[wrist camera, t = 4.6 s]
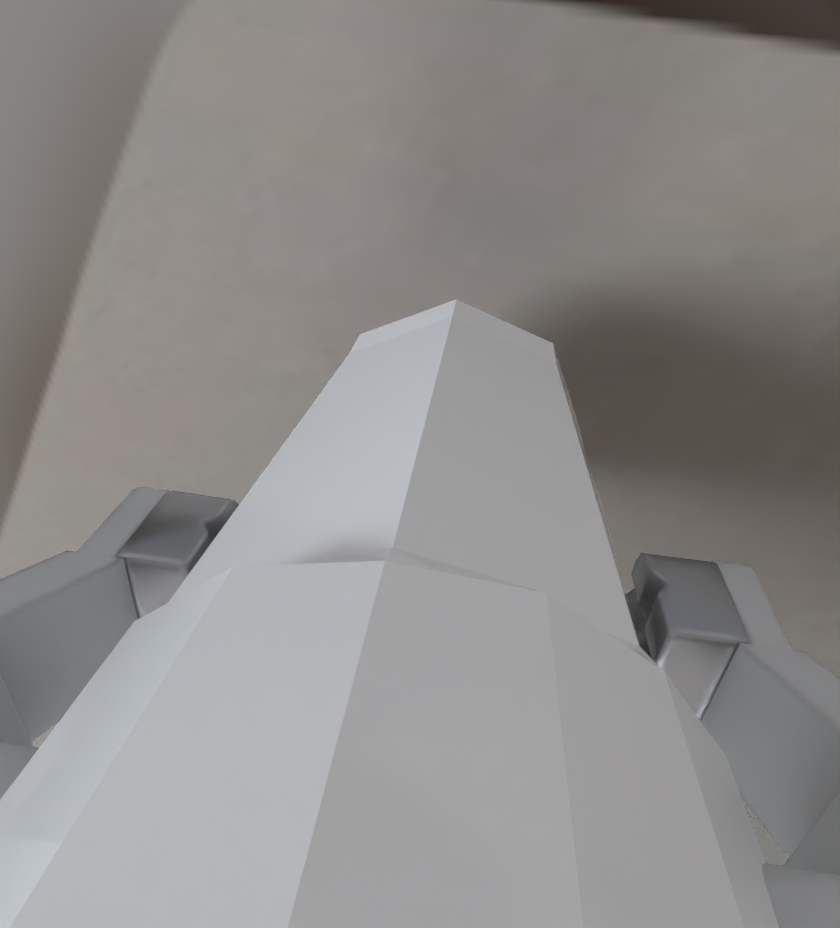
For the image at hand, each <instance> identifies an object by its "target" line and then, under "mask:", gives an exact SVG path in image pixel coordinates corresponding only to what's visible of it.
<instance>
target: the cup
mask: <svg viewBox="0 0 840 928" xmlns="http://www.w3.org/2000/svg"><path fill="white" fill-rule="evenodd" d="M764 863H766V862H765V859H764V856H763V854H762V851H761V848H760V846H759V843H758V840H757V838H756V835H755V832H754V830H753V827H752V824H751V822H750V819H749V816H748V813H747V811H746V808H745V805H744V803H743V800H742V797H741V795H740V792H739V789H738V787H737V784H736V781H735V779H734V776H733V773H732V771H731V768H730V765H729V762H728V760H727V757H726V755H725V754H724V753H723V751H722V750H721V748H720V747H719V746H718V744H717V743H716V742H715V740H714V739H713V738H712V736H711V735H710V733H709V732H708V731H707V729H706V728H705V727H704V725H703V724H702V723H701V721H700V720H699V718H698V717H697V716H696V714H695V713H694V712H693V710H692V709H691V708H690V706H689V705H688V703H687V702H686V701H685V699H684V698H683V697H682V695H681V694H680V693H679V691H678V690H677V688H676V687H675V686H674V684H673V683H672V682H671V680H670V679H669V678H668V676H667V675H666V673H665V672H664V671H663V670H662V669H661V668H660V667H659V666H658V665H657V664H656V663H655V662H654V661H653V660H652V659H651V658H650V657H649V656H648V654H647V653H646V652H645V651H644V648H643V645H642V641H641V638H640V635H639V631H638V628H637V625H636V621H635V618H634V615H633V611H632V608H631V605H630V601H629V598H628V595H627V592H626V588H625V585H624V582H623V578H622V575H621V572H620V568H619V565H618V562H617V558H616V555H615V552H614V548H613V545H612V542H611V539H610V535H609V532H608V529H607V525H606V522H605V519H604V515H603V512H602V509H601V505H600V502H599V499H598V496H597V492H596V489H595V486H594V482H593V479H592V476H591V472H590V469H589V466H588V462H587V459H586V456H585V451H584V446H583V441H582V436H581V431H580V428H579V424H578V421H577V418H576V415H575V412H574V409H573V406H572V402H571V399H570V396H569V393H568V390H567V387H566V383H565V380H564V377H563V374H562V371H561V368H560V364H559V361H558V358H557V355H556V352H555V349H554V345H553V343H551V342H549V341H547V340H545V339H542V338H540V337H538V336H536V335H534V334H531V333H529V332H527V331H525V330H522V329H520V328H518V327H516V326H514V325H511V324H509V323H507V322H505V321H503V320H500V319H498V318H496V317H494V316H492V315H489V314H487V313H485V312H483V311H481V310H478V309H476V308H474V307H472V306H470V305H467V304H465V303H463V302H461V301H459V300H453V301H450V302H448V303H445V304H442V305H439V306H437V307H434V308H431V309H428V310H426V311H423V312H420V313H417V314H415V315H412V316H409V317H406V318H404V319H401V320H398V321H395V322H393V323H390V324H387V325H385V326H382V327H379V328H376V329H374V330H371V331H368V332H365V333H363V334H360V335H359V337H358V339H357V340H356V342H355V344H354V346H353V348H352V350H351V351H350V353H349V355H348V356H347V357H346V359H345V360H344V361H343V363H342V364H341V366H340V367H339V368H338V370H337V371H336V372H335V374H334V375H333V377H332V378H331V379H330V381H329V382H328V383H327V385H326V386H325V388H324V389H323V390H322V392H321V393H320V394H319V396H318V397H317V399H316V400H315V401H314V403H313V404H312V405H311V407H310V408H309V409H308V411H307V412H306V414H305V415H304V416H303V418H302V419H301V420H300V422H299V423H298V425H297V426H296V427H295V429H294V430H293V431H292V433H291V434H290V436H289V437H288V438H287V440H286V441H285V442H284V444H283V445H282V447H281V448H280V449H279V451H278V452H277V453H276V455H275V456H274V458H273V459H272V460H271V462H270V463H269V464H268V466H267V467H266V469H265V470H264V471H263V473H262V474H261V475H260V477H259V478H258V480H257V481H256V482H255V484H254V485H253V486H252V488H251V489H250V491H249V492H248V493H247V495H246V496H245V497H244V499H243V500H242V502H241V503H240V504H239V506H238V507H237V508H236V510H235V511H234V513H233V514H232V515H231V517H230V518H229V519H228V521H227V522H226V524H225V525H224V526H223V528H222V529H221V530H220V532H219V533H218V535H217V536H216V537H215V539H214V540H213V541H212V543H211V544H210V546H209V547H208V548H207V550H206V551H205V552H204V554H203V555H202V557H201V558H200V559H199V561H198V562H197V563H196V565H195V566H194V568H193V569H192V570H191V572H190V573H189V574H188V576H187V577H186V579H185V580H184V581H183V583H182V584H181V585H180V587H179V588H178V590H177V591H176V592H175V594H174V595H173V596H172V598H171V599H170V600H169V602H168V603H167V604H165V605H163V606H161V607H159V608H158V609H156V610H154V611H152V612H150V613H149V614H147V615H145V616H143V617H141V618H140V619H138V620H136V621H134V623H133V624H132V625H131V627H130V628H129V629H128V631H127V632H126V633H125V635H124V636H123V637H122V639H121V640H120V641H119V643H118V644H117V645H116V647H115V648H114V649H113V651H112V652H111V653H110V655H109V656H108V657H107V659H106V660H105V661H104V662H103V664H102V665H101V666H100V668H99V669H98V670H97V672H96V673H95V674H94V676H93V677H92V678H91V680H90V681H89V682H88V684H87V685H86V686H85V688H84V689H83V690H82V692H81V693H80V694H79V696H78V697H77V698H76V700H75V701H74V702H73V704H72V705H71V706H70V708H69V709H68V710H67V712H66V713H65V714H64V716H63V717H62V718H61V720H60V721H59V722H58V724H57V725H56V726H55V728H54V729H53V730H52V732H51V733H50V734H49V736H48V737H47V738H46V740H45V741H44V742H43V744H42V745H41V746H40V748H39V749H38V750H37V752H36V753H35V754H34V756H33V757H32V758H31V759H30V761H29V762H28V763H27V765H26V766H25V767H24V769H23V770H22V771H21V773H20V774H19V775H18V777H17V778H16V779H15V781H14V782H13V783H12V785H11V786H10V787H9V789H8V790H7V791H6V793H5V794H4V795H3V797H2V798H1V799H0V928H779V926H778V923H777V919H776V916H775V913H774V910H773V907H772V904H771V900H770V897H769V894H768V891H767V888H766V885H765V881H764V877H763V873H762V864H764Z"/></svg>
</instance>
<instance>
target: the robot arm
mask: <svg viewBox="0 0 840 928" xmlns="http://www.w3.org/2000/svg"><path fill="white" fill-rule="evenodd" d="M238 506H239V504H238V503H237V502H236V501H235V500H231V499H224V498H218V497H211V496H204V495H198V494H191V493H185V492H178V491H169V490H162V489H155V488H148V487H139V488H136V489H133V490H132V491H131V492H130V493H129V494H128V496H127V497H126V498H125V499H124V500H123V501H122V502H121V503H120V504H119V506H118V507H117V508H116V509H115V510H114V511H113V512H112V513H111V514H110V516H109V517H108V518H107V519H106V520H105V521H104V522H103V523H102V525H101V526H100V527H99V528H98V529H97V530H96V531H95V532H94V533H93V535H92V536H91V537H90V538H89V539H88V540H87V541H86V542H85V543H84V545H83V546H82V547H81V548H80V549H79V550H78V551H77V552H72V551H65V552H63V553H61V554H58V555H56V556H54V557H51V558H49V559H47V560H44V561H42V562H40V563H37V564H35V565H33V566H30V567H28V568H26V569H24V570H21V571H19V572H17V573H14V574H12V575H10V576H7V577H5V578H3V579H0V799H1V798H2V797H3V795H4V794H5V793H6V791H7V790H8V789H9V787H10V786H11V785H12V783H13V782H14V781H15V779H16V778H17V777H18V775H19V774H20V773H21V771H22V770H23V769H24V767H25V766H26V765H27V763H28V762H29V761H30V759H31V758H32V757H33V756H34V754H35V753H36V752H37V750H38V749H39V748H35V747H34V745H33V742H32V741H33V740H34V739H35V738H37V737H38V736H39V735H41V734H42V733H44V732H45V731H46V730H48V729H49V728H50V727H52V726H53V725H54V724H56V723H57V722H58V721H60V720H61V718H62V717H63V716H64V714H65V713H66V712H67V710H68V709H69V708H70V706H71V705H72V704H73V702H74V701H75V700H76V698H77V697H78V696H79V694H80V693H81V692H82V690H83V689H84V688H85V686H86V685H87V684H88V682H89V681H90V680H91V678H92V677H93V676H94V674H95V673H96V672H97V670H98V669H99V668H100V666H101V665H102V664H103V662H104V661H105V660H106V659H107V657H108V656H109V655H110V653H111V652H112V651H113V649H114V648H115V647H116V645H117V644H118V643H119V641H120V640H121V639H122V637H123V636H124V635H125V633H126V632H127V631H128V629H129V628H130V627H131V625H132V624H133V623H134V621H136V620H138V619H140V618H141V617H143V616H145V615H147V614H149V613H150V612H152V611H154V610H156V609H158V608H159V607H161V606H163V605H165V604H167V603H168V602H169V600H170V599H171V598H172V596H173V595H174V594H175V592H176V591H177V590H178V588H179V587H180V585H181V584H182V583H183V581H184V580H185V579H186V577H187V576H188V574H189V573H190V572H191V570H192V569H193V568H194V566H195V565H196V563H197V562H198V561H199V559H200V558H201V557H202V555H203V554H204V552H205V551H206V550H207V548H208V547H209V546H210V544H211V543H212V541H213V540H214V539H215V537H216V536H217V535H218V533H219V532H220V530H221V529H222V528H223V526H224V525H225V524H226V522H227V521H228V519H229V518H230V517H231V515H232V514H233V513H234V511H235V510H236V508H237V507H238ZM632 578H633V582H634V586H635V589H633V590H632V591H630V592H629V593H627V595H628V598H629V601H630V605H631V608H632V611H633V615H634V618H635V621H636V625H637V628H638V631H639V635H640V638H641V641H642V645H643V648H644V651H645V652H646V653H647V654H648V656H649V657H650V658H651V659H652V660H653V661H654V662H655V663H656V664H657V665H658V666H659V667H660V668H661V669H662V670H663V671H664V672H665V673H666V675H667V676H668V678H669V679H670V680H671V682H672V683H673V684H674V686H675V687H676V688H677V690H678V691H679V693H680V694H681V695H682V697H683V698H684V699H685V701H686V702H687V703H688V705H689V706H690V708H691V709H692V710H693V712H694V713H695V714H696V716H697V717H698V718H699V720H700V721H701V723H702V724H703V725H704V727H705V728H706V729H707V731H708V732H709V733H710V735H711V736H712V738H713V739H714V740H715V742H716V743H717V744H718V746H719V747H720V748H721V750H722V751H723V753H724V754H725V755H726V757H727V760H728V762H729V765H730V768H731V771H732V773H733V776H734V779H735V781H736V784H737V787H738V789H739V792H740V795H741V797H742V798H743V800H744V801H745V802H746V803H747V805H748V806H749V807H750V808H751V810H752V811H753V812H754V814H755V815H756V816H757V817H758V819H759V820H760V821H761V823H762V824H763V825H764V826H765V828H766V829H767V830H768V831H769V833H770V834H771V835H772V837H773V838H774V839H775V840H776V842H777V843H778V844H779V845H780V847H781V848H782V849H783V851H784V852H785V853H786V854H787V856H788V857H789V859H788V860H787V862H786V863H785V864H784V866H781V865H774V864H768V863H764V864H762V873H763V877H764V881H765V885H766V888H767V891H768V894H769V897H770V900H771V904H772V907H773V910H774V913H775V916H776V919H777V923H778V926H779V928H840V679H839V678H838V677H836V676H835V675H834V674H832V673H831V672H830V671H829V670H827V669H826V668H825V667H824V666H822V665H821V664H820V663H818V662H817V661H816V660H815V659H813V658H812V657H811V656H810V655H808V654H807V653H806V652H802V651H796V650H793V648H792V646H791V644H790V642H789V640H788V638H787V636H786V634H785V632H784V630H783V628H782V626H781V624H780V622H779V620H778V618H777V616H776V614H775V612H774V610H773V608H772V606H771V604H770V602H769V600H768V598H767V596H766V594H765V592H764V589H763V587H762V585H761V583H760V581H759V579H758V577H757V575H756V573H755V571H754V569H752V568H751V567H750V566H749V565H747V564H739V563H729V562H720V561H711V562H709V561H701V560H693V559H685V558H677V557H669V556H661V555H653V554H645V553H641V554H640V555H639V557H638V558H637V560H636V562H635V565H634V568H633V571H632Z"/></svg>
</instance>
